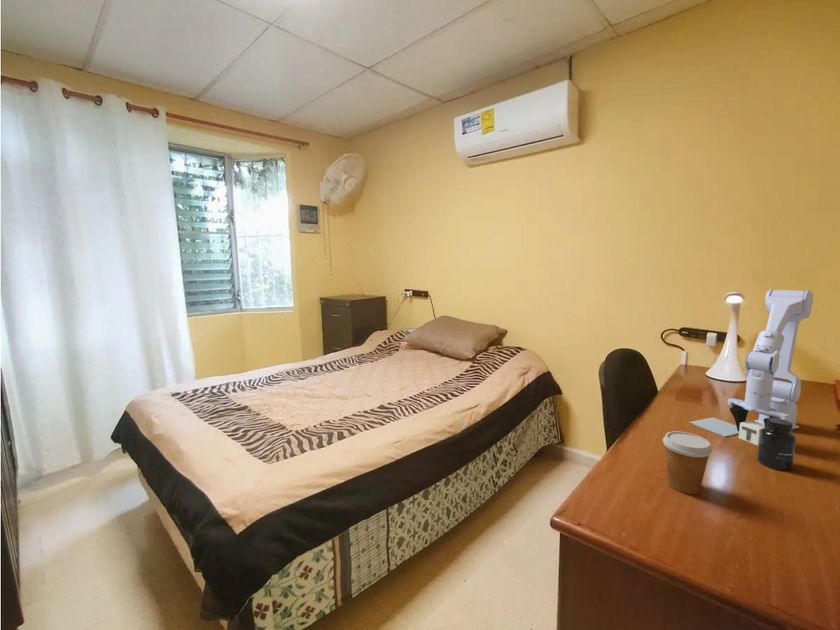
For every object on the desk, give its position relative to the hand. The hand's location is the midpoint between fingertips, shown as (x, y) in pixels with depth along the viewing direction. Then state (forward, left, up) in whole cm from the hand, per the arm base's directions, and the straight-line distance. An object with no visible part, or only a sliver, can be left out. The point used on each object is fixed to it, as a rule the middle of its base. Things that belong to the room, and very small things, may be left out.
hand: (754, 435), depth 112 cm
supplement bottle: (+10, +11, -2) cm, 15 cm away
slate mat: (0, -10, -1) cm, 10 cm away
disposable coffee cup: (+42, +10, -2) cm, 43 cm away
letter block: (0, 0, -2) cm, 2 cm away
